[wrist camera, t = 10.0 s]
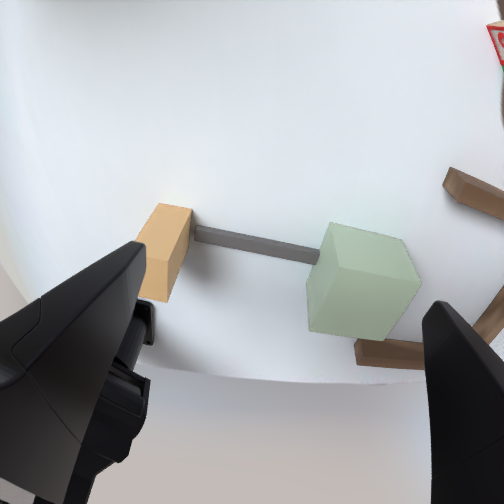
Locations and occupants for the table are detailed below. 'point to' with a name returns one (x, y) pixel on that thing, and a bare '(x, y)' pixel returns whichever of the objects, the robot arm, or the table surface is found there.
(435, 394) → the robot arm
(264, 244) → the block dumbbell
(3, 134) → the table surface
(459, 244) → the table surface
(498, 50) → the stack of blocks
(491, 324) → the frame
